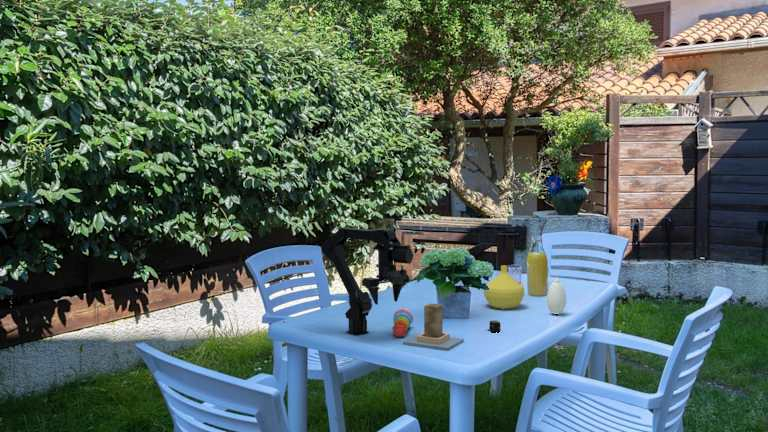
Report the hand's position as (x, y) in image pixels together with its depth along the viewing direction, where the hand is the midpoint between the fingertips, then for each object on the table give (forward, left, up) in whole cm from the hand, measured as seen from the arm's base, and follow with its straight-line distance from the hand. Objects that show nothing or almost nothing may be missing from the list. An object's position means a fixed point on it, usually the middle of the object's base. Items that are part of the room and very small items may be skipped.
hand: (386, 302), depth 256 cm
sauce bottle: (+81, -15, -13) cm, 83 cm away
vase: (+75, +10, -13) cm, 77 cm away
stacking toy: (+15, +9, -9) cm, 20 cm away
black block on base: (+38, -20, -14) cm, 45 cm away
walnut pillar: (+8, -18, -12) cm, 23 cm away
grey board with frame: (+8, -18, -13) cm, 24 cm away
